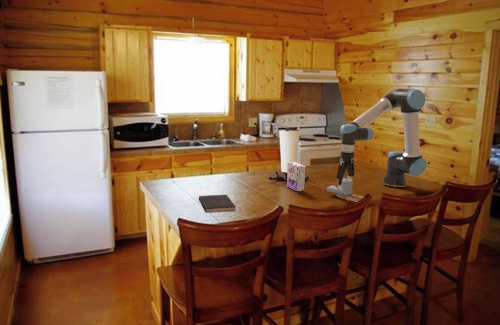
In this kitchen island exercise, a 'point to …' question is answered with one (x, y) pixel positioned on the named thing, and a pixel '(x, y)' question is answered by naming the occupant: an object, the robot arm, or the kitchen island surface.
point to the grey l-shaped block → (346, 187)
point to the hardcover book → (216, 203)
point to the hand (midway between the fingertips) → (344, 188)
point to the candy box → (296, 176)
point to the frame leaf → (354, 198)
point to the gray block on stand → (343, 194)
